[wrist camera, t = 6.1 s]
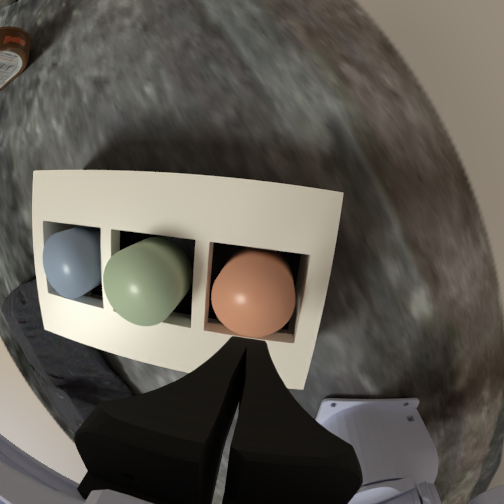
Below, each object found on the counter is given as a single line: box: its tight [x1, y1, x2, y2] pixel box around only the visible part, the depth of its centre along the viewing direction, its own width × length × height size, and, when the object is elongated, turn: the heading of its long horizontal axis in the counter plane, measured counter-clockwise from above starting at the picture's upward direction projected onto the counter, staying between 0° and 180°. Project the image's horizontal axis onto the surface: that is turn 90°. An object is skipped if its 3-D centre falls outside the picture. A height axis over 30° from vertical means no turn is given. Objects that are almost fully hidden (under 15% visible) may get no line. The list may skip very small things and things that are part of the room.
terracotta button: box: [211, 247, 295, 337], centre depth 15 cm, size 4×4×3 cm
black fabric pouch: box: [2, 279, 134, 434], centre depth 23 cm, size 15×22×5 cm
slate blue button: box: [43, 225, 102, 299], centre depth 16 cm, size 4×4×3 cm
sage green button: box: [103, 237, 192, 326], centre depth 15 cm, size 4×4×3 cm
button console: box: [32, 170, 343, 390], centre depth 17 cm, size 18×11×6 cm, turn 84°
